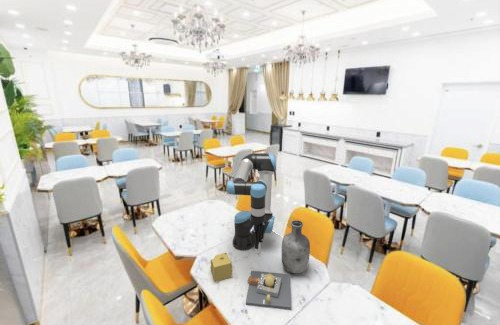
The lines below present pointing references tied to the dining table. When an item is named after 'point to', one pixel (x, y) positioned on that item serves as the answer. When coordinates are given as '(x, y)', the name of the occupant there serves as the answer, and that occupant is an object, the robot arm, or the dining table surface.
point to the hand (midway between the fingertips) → (257, 252)
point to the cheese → (221, 267)
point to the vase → (295, 249)
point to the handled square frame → (262, 288)
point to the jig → (267, 300)
